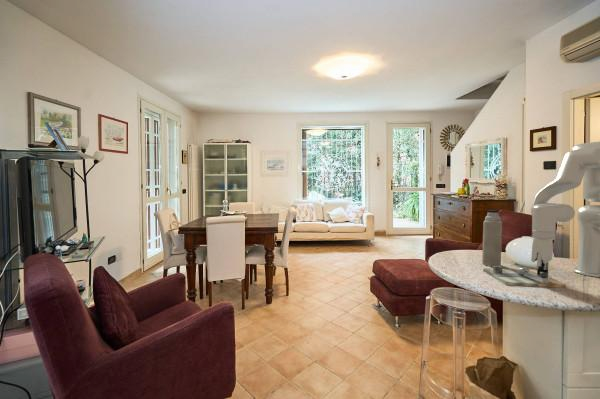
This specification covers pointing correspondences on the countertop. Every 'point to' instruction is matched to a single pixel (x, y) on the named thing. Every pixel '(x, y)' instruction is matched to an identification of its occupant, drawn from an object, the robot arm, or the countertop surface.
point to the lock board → (519, 278)
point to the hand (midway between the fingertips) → (542, 278)
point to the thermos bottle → (492, 239)
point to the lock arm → (534, 275)
